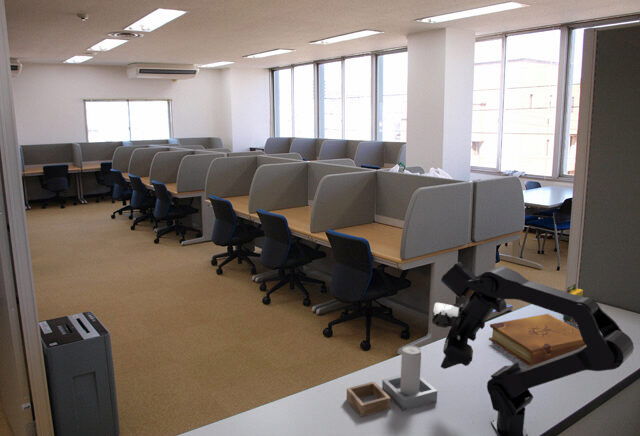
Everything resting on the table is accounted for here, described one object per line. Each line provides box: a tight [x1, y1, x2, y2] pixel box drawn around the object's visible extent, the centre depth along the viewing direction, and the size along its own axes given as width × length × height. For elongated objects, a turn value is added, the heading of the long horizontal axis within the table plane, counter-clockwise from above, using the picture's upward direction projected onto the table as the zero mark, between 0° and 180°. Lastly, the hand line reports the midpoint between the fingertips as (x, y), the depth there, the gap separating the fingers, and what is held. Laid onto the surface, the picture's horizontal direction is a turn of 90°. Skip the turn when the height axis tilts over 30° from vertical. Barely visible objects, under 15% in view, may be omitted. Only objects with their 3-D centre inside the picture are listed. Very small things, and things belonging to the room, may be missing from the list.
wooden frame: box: [346, 381, 392, 417], centre depth 125 cm, size 8×8×3 cm
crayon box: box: [562, 282, 584, 322], centre depth 173 cm, size 7×3×12 cm, turn 131°
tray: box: [381, 374, 438, 412], centre depth 128 cm, size 10×10×3 cm
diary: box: [488, 313, 586, 367], centre depth 154 cm, size 23×19×6 cm
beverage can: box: [400, 344, 422, 396], centre depth 127 cm, size 5×5×12 cm
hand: (444, 355), depth 124 cm, fingers open, 9 cm apart
